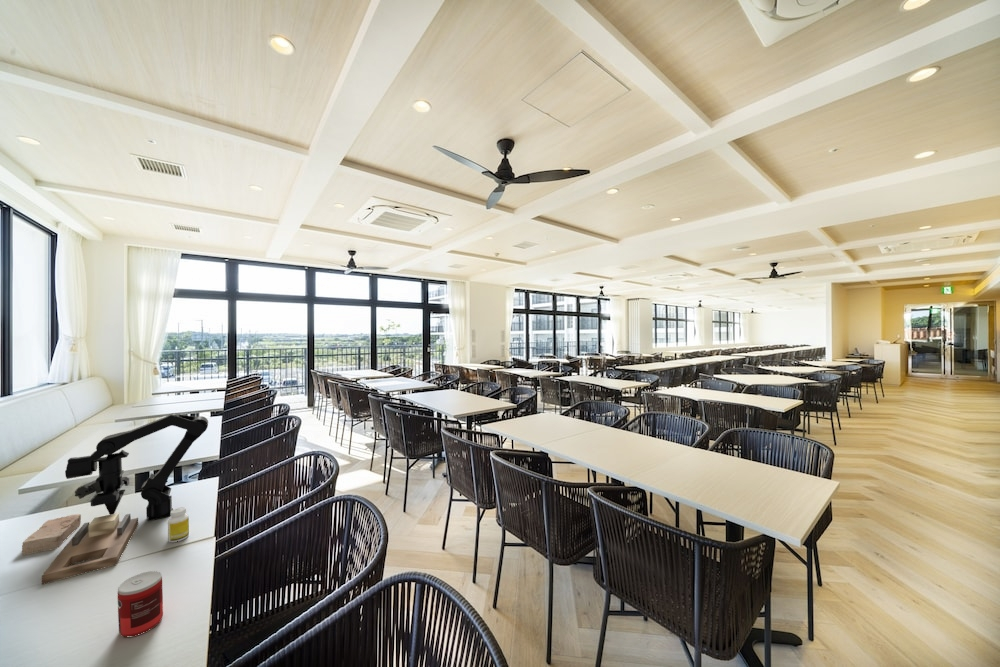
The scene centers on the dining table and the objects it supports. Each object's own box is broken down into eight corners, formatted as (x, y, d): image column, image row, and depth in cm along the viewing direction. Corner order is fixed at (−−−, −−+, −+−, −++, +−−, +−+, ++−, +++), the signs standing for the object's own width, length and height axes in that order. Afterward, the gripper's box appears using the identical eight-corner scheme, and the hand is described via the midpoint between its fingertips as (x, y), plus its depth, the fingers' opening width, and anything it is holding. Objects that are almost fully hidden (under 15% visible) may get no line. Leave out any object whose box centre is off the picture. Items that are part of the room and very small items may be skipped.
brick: (58, 549, 121) (58, 534, 121) (19, 557, 117) (19, 542, 117) (82, 525, 136) (81, 512, 136) (48, 532, 131) (47, 518, 131)
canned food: (138, 614, 94) (136, 571, 93) (171, 612, 94) (170, 569, 94) (108, 640, 86) (107, 593, 86) (145, 637, 87) (144, 591, 86)
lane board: (138, 524, 136) (137, 510, 135) (116, 564, 113) (116, 548, 113) (78, 538, 127) (77, 523, 127) (41, 584, 104) (41, 567, 104)
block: (119, 523, 131) (118, 512, 131) (114, 531, 126) (113, 520, 126) (94, 529, 128) (94, 517, 128) (88, 537, 123) (88, 525, 123)
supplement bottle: (192, 536, 128) (191, 508, 128) (173, 544, 123) (172, 515, 123) (183, 532, 130) (183, 504, 130) (164, 540, 125) (163, 512, 125)
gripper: (87, 468, 137) (88, 509, 137) (67, 486, 121) (69, 533, 122) (129, 461, 143) (130, 501, 144) (115, 478, 128) (116, 522, 128)
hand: (112, 513), depth 134 cm, fingers closed
